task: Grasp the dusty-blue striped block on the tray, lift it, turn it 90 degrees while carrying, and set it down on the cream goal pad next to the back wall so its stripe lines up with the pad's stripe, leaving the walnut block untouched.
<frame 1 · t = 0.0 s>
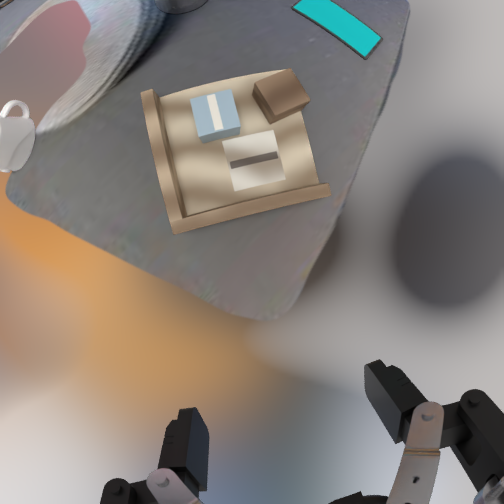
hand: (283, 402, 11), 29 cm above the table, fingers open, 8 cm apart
flat teal bar: (337, 23, 33), on the table
block: (217, 121, 34), point 1 cm above the table, touching tray
walnut block: (276, 102, 34), point 1 cm above the table, touching tray
mug: (23, 138, 33), on the table
tray: (234, 144, 36), on the table
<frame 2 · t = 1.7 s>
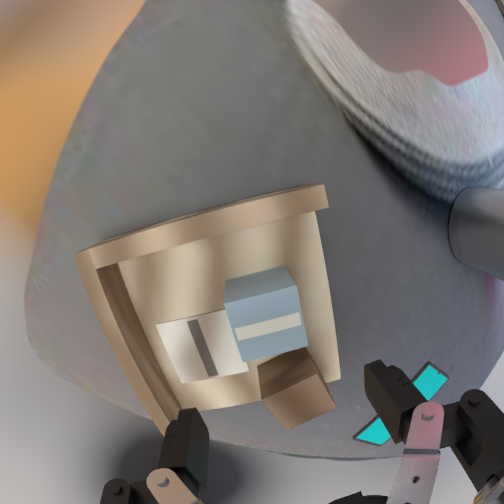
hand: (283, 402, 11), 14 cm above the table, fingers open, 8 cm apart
flat teal bar: (401, 406, 31), on the table
block: (261, 299, 24), point 1 cm above the table, touching tray
walnut block: (291, 371, 26), point 1 cm above the table, touching tray
tray: (227, 318, 26), on the table
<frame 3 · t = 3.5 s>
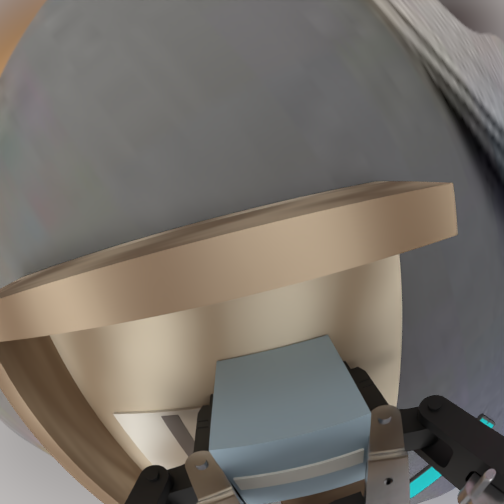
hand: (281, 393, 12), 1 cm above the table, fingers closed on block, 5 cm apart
flat teal bar: (440, 460, 19), on the table
block: (282, 389, 12), point 1 cm above the table, touching tray, gripper
walnut block: (323, 464, 14), point 1 cm above the table, touching tray
tray: (229, 406, 14), on the table
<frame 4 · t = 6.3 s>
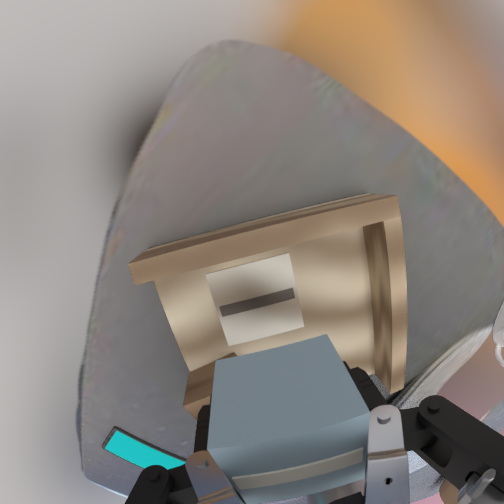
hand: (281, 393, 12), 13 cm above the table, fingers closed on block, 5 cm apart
flat teal bar: (155, 457, 30), on the table
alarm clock: (464, 459, 41), on the table
block: (281, 388, 12), point 13 cm above the table, touching gripper
walnut block: (225, 379, 25), point 1 cm above the table, touching tray
mug: (503, 320, 30), on the table
tray: (284, 318, 26), on the table
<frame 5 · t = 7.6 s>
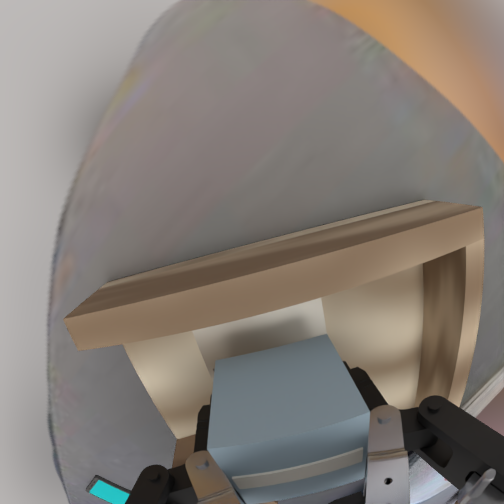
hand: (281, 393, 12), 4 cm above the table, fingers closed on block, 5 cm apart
flat teal bar: (146, 503, 22), on the table
block: (281, 388, 12), point 4 cm above the table, touching gripper
walnut block: (224, 448, 17), point 1 cm above the table, touching tray
tray: (305, 376, 17), on the table
when the fingers open (3 cm above the table, at t = 8.9 s): block stays where it is, resting on tray.
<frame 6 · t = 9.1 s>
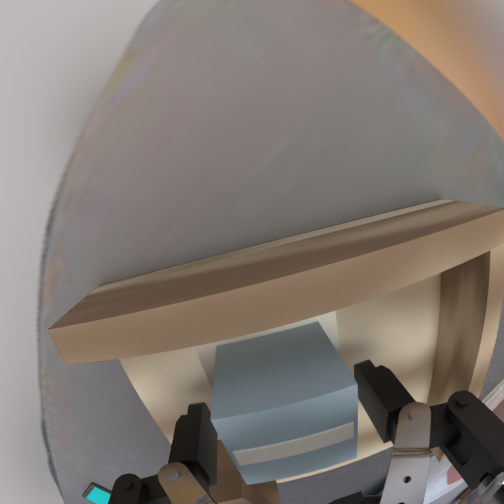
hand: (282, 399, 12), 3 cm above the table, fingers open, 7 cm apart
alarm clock: (479, 480, 31), on the table
block: (277, 374, 13), point 1 cm above the table, touching tray
walnut block: (225, 461, 15), point 1 cm above the table, touching tray
tray: (313, 386, 16), on the table
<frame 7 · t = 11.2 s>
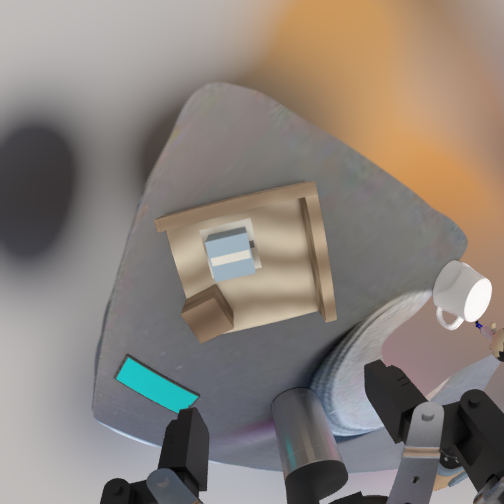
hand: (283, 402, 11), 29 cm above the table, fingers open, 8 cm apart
flat teal bar: (156, 385, 45), on the table
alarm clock: (433, 429, 56), on the table
toy: (474, 323, 47), on the table
block: (231, 248, 38), point 1 cm above the table, touching tray
walnut block: (209, 305, 40), point 1 cm above the table, touching tray
mug: (444, 288, 44), on the table
tray: (249, 263, 40), on the table
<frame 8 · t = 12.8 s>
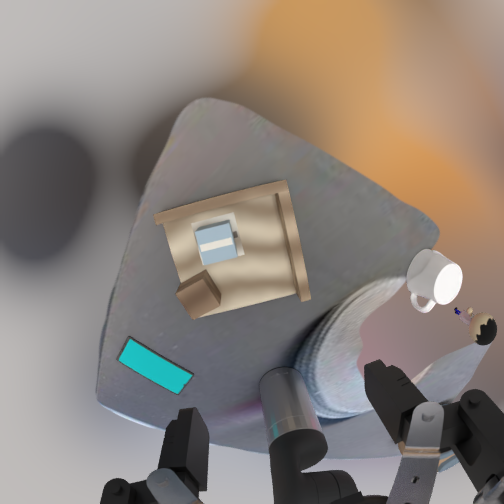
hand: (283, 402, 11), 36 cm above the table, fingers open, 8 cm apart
flat teal bar: (154, 365, 51), on the table
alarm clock: (421, 416, 62), on the table
toy: (454, 310, 54), on the table
block: (217, 238, 44), point 1 cm above the table, touching tray
walnut block: (201, 288, 46), point 1 cm above the table, touching tray
mug: (418, 275, 51), on the table
tray: (234, 251, 47), on the table
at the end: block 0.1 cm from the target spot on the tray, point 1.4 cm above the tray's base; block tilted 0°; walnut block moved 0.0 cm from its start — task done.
